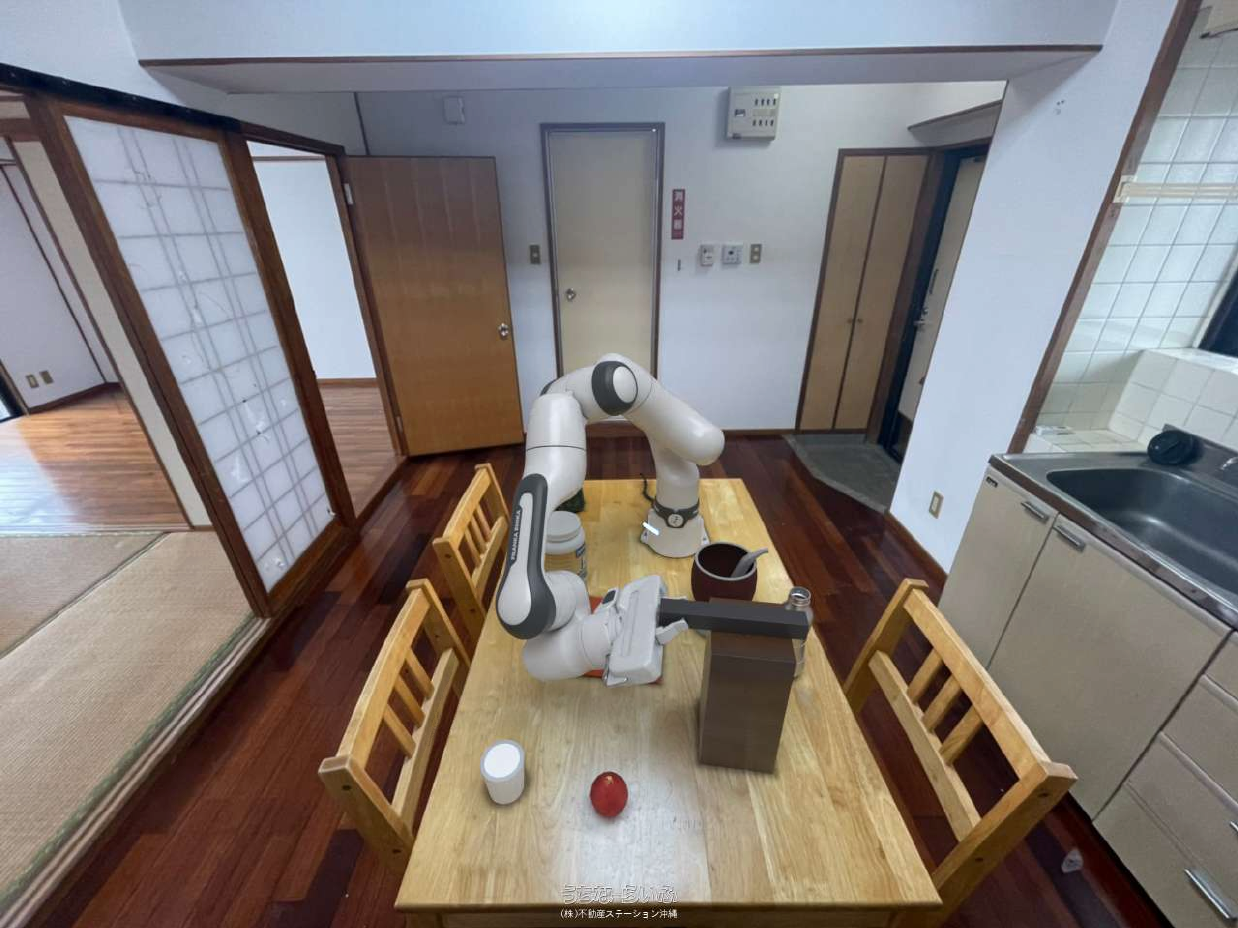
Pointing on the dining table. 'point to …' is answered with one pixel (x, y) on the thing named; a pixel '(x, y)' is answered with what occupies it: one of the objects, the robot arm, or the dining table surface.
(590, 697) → the dining table surface
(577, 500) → the coffee jar
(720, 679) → the tall wooden block
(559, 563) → the supplement tub
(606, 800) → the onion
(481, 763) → the white short cylinder
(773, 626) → the handle
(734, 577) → the mate gourd
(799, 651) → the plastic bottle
